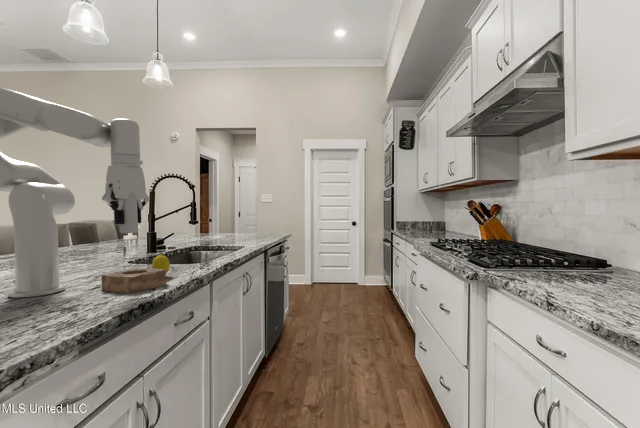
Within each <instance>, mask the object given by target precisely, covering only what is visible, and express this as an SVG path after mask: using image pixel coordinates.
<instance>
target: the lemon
mask: <svg viewBox="0 0 640 428" xmlns="http://www.w3.org/2000/svg"><path fill="white" fill-rule="evenodd" d="M170 265H171V264H170V259H169V258H168V257H167V256H166V255H163V254H161V253H160V254H159V255H157V256H156V257H154V258H153V260H152V265H151V268H152V269H164V270H166V274H167V273H169V271H170V268H171V267H170Z"/></svg>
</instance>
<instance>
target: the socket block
mask: <svg viewBox="0 0 640 428" xmlns="http://www.w3.org/2000/svg"><path fill="white" fill-rule="evenodd" d="M166 276H167V273H166V270H164V269H152V267H148V268H147V267H146V268H145V267H144V268H142V267H134V268H130V269H123V270H117V271H114V272H113V271H112V272H110V273H105V274H101V291H105V292H111V293H120V294H121V293H124V294H126V293H128V294H134V293H139V292H142V291H147V290H150V289H154V288H157V287H159V286H163V285H166V284H167V277H166Z"/></svg>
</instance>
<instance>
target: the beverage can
mask: <svg viewBox="0 0 640 428" xmlns="http://www.w3.org/2000/svg"><path fill="white" fill-rule="evenodd" d="M130 193H131V194H129V195H128V199H126V200H124V202H123V206H122V210H124V224H118V225H119V226H118V227H119V233H121V234H136V233H138V231H139V223H138V213H137V197H136V194H134V193H135V192H130Z"/></svg>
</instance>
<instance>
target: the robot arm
mask: <svg viewBox="0 0 640 428" xmlns="http://www.w3.org/2000/svg"><path fill="white" fill-rule="evenodd" d="M28 128H32V129H36V130H38V131H42V132H48V131H50V132H53V133H57V134H60V135H64V136H67V137H70V138H74V139H76V140H78V141H82V142H85V143H87V144H91V145H93V146H96V147H99V148H110V165H108V166H107V170H106V171H107V172H106V176H105V177H106V178H105V193H104V194H103V196H102V197H101V200H102V201H103V202H105V203H106V204H107V206H109V207H110V208H111V210H112V211H113V220H114V225H119V224H124V210H122V206H123V202H124V200H126V199H128V195H129V194H131V193H130V192H135V193H134V194H136V197H137V213H138V224H141V223H142V210H144V207H145V206H146V204H147V203H148V202H149V201H150V200H151V198H150V197H149V195H148V194H147V191H146V181H145V174H144V170H143V168H142V165H143V163H144V162H143V160H141V147H140V146H141V143H140V142H141V139H140V125H139V124H138V122H137V121H135V120H132V119H128V118H114V119H111V121H110V122H107V121H104V120H102V119H99V118H98V117H96V116H94V115H91V114H89V113H87V112H84V111H80V110H76V109H74V108H71V107H68V106H65V105H61V104H57V103H54V102H50V101H46V100H44V99H41V98H38V97H35V96H31V95H29V94H25V93H22V92H18V91H15V90H12V89H10V88H4V87H0V140H2V139H4V138H6V137H10V136H12V135H13V134H17V133H19V132H21V131H23V130H26V129H28ZM1 191H2V192H5V193H6V192H8V193H9V195H8V206H9V209H10V214H11V218H12V221H13V222H12V223H13V239H14V264H15V265H14V269H15V270H14V271H15V279H14V280H12V284H13V285H15V289H12V290H9V291H8V292H7V296H8V297H10V298H15V299H18V298H19V299H20V298H31V297H41V296H46V295H52V294H55V293H60V292H62V291H65V290H66V289H67V285H66V284H65V283H60V263H59V262H60V258H59V257H60V253H59V249H60V248H59V229H58V223H57V221H56V219H55V217H54V216H62V215H65V214H68V213H69V212H71V211H72V210H73V208H74V206H75V205H76V204H75V203H76V202H75V201H76V200H75V196H74V194H73V192H72V191H71V189H70V188H69V187H67V186H66V185H64V184H63V183H62V182H60V181H59V180H58V179H57V178H55V177H54V176H53V175H51V174H50V173H49V172H48V171H46V170H45V169H43V168H42V167H40V166H39V165H37V164H34V163H31V162H27V161H22V160H17V159H13V158H11V157H9V156H7V155H5V154H4V153H2V152H1V151H0V192H1Z"/></svg>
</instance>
